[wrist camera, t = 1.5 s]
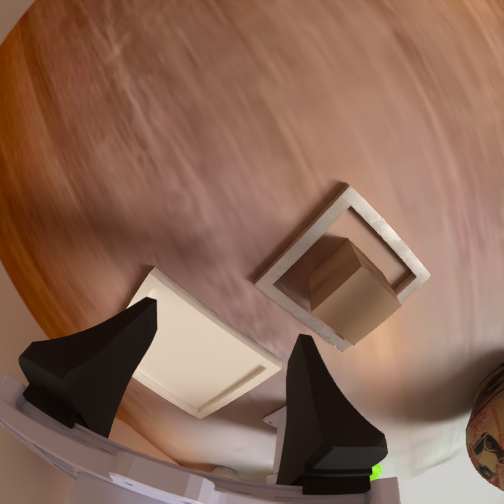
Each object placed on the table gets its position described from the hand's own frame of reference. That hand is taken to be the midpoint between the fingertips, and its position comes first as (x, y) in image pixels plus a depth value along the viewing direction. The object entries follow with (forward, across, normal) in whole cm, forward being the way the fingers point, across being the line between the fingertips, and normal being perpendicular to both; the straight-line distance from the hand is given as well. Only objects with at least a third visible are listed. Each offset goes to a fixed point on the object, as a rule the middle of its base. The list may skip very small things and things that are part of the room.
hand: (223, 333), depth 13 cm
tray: (+9, +5, +14) cm, 17 cm away
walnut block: (+10, -8, 0) cm, 13 cm away
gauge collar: (+10, -8, 0) cm, 13 cm away
